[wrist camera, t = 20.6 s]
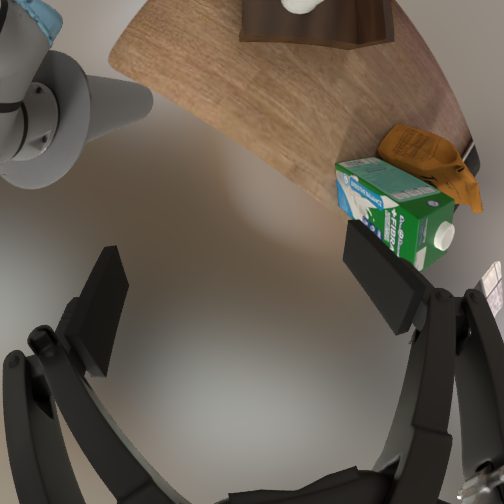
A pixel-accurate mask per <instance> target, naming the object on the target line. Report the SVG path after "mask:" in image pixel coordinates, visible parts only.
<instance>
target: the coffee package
mask: <svg viewBox="0 0 504 504" xmlns="http://www.w3.org/2000/svg"><path fill="white" fill-rule="evenodd" d="M377 150H378V153H379V155H380V156H381V157H382V159H383V160H384V161H385V162H387V163H389V164H391V165H393V166H395V167H397V168H399V169H401V170H403V171H405V172H407V173H409V174H411V175H413V176H415V177H416V178H418V179H420V180H422V181H424V182H426V183H427V184H429V185H431V186H433V187H435V188H436V189H438V190H440V191H442V192H443V193H445V194H447V195H448V196H450V197H452V198H453V199H455V204H459V203H461V204H466V205H471V209H472V211H473V212H474V213H481V212H482V211H483V208H482V203H481V197H480V192H479V186H478V182H477V181H476V179H475V178H474V176H473V175H472V174H471V173H470V171H469V170H468V168H467V166H466V165H465V164H464V163H463V161H462V159H461V157H460V155H459V153H458V151H457V149H456V148H455V147H454V146H453V145H452V144H451V143H450V142H449V141H447V140H445V139H444V138H442V137H440V136H438V135H435V134H432V133H430V132H427V131H424V130H420V129H417V128H413V127H408V126H405V125H401V124H397V125H395V126H394V128H393V129H392V130H391V131H389V133H388V134H387V135H386V137H385V138H384V139H383V140H382V142H381V143H380V146H379V147H378V149H377Z"/></svg>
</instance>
